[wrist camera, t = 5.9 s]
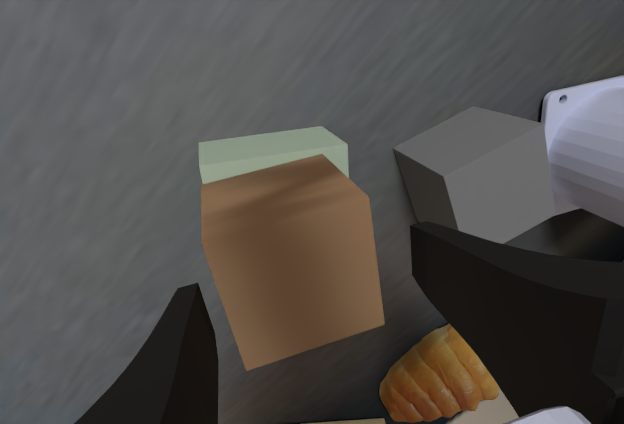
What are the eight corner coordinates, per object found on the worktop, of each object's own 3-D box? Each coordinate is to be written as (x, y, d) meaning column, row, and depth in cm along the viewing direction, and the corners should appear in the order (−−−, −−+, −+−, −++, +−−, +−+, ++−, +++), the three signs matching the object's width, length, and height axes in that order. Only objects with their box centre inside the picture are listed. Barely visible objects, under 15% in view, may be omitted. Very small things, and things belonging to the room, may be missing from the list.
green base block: (320, 125, 20) (347, 144, 16) (327, 230, 22) (352, 267, 19) (198, 141, 19) (199, 165, 15) (220, 251, 21) (225, 294, 18)
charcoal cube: (472, 105, 21) (543, 123, 17) (488, 182, 24) (555, 214, 19) (392, 147, 21) (443, 176, 17) (416, 220, 24) (467, 262, 19)
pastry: (395, 418, 31) (419, 465, 27) (359, 368, 27) (382, 414, 24) (497, 353, 31) (534, 392, 27) (473, 296, 28) (511, 332, 24)
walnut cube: (322, 153, 16) (369, 197, 12) (339, 255, 18) (384, 324, 14) (200, 185, 15) (201, 244, 11) (234, 287, 18) (246, 371, 13)
